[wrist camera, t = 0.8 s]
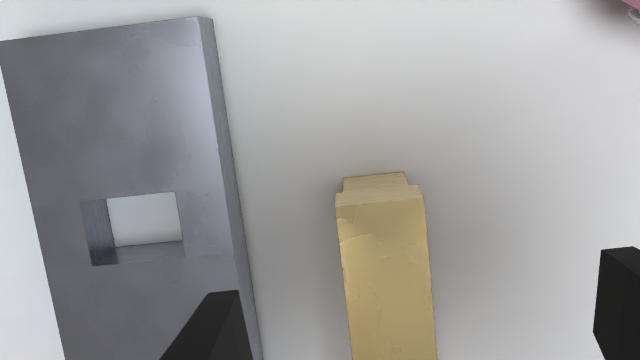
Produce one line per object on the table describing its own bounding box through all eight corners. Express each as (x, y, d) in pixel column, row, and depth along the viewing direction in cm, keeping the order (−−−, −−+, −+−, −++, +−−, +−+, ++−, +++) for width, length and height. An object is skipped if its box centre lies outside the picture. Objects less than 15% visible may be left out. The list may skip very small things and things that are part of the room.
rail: (285, 514, 30) (280, 555, 28) (129, 524, 31) (111, 565, 28) (212, 19, 25) (197, 16, 23) (28, 42, 26) (-5, 41, 24)
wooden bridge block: (426, 374, 28) (446, 459, 23) (361, 379, 29) (365, 465, 23) (407, 164, 26) (423, 197, 20) (338, 171, 27) (335, 206, 21)
